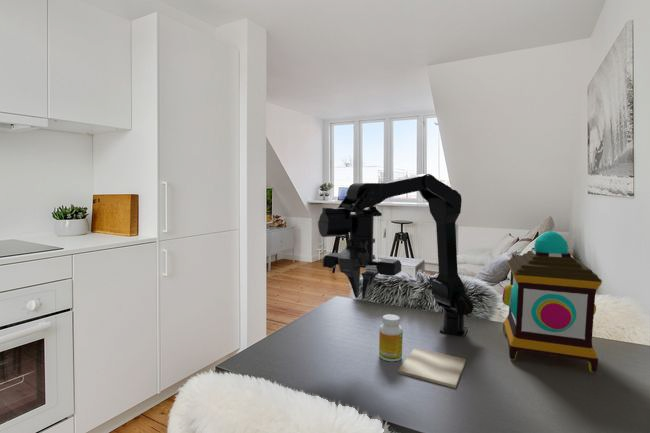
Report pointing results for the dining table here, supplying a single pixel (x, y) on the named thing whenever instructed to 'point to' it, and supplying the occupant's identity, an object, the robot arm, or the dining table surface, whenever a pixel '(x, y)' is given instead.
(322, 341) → the dining table surface
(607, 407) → the dining table surface
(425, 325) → the dining table surface
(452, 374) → the birch mat
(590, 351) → the decorative lantern
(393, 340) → the supplement bottle
